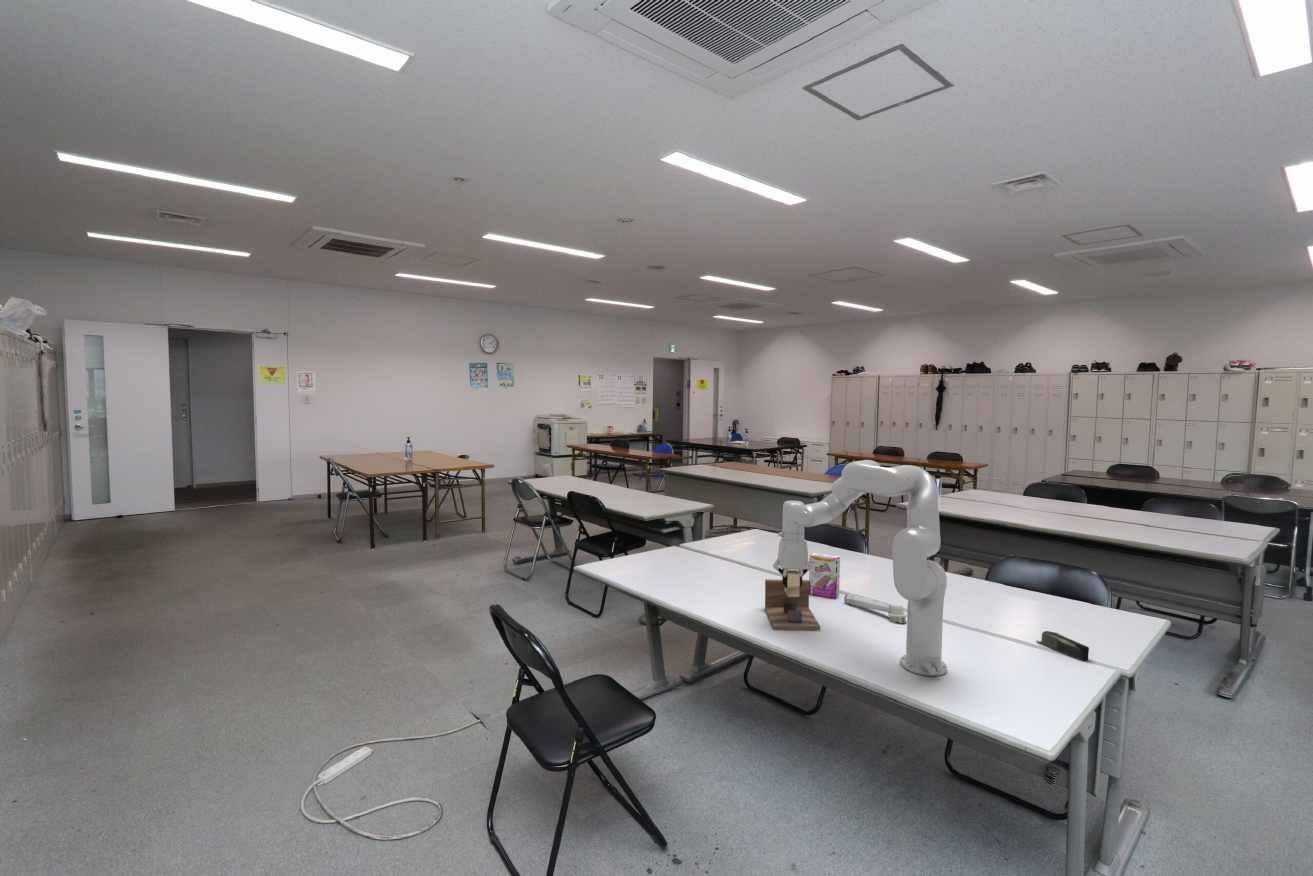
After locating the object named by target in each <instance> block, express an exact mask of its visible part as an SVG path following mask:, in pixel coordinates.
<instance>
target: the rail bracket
mask: <svg viewBox="0 0 1313 876" xmlns="http://www.w3.org/2000/svg"><path fill="white" fill-rule="evenodd" d="M799 588H800V574H799V572H798V569H787V588H785V592H786V594H787V596H788V597H799Z"/></svg>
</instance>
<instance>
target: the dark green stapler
mask: <svg viewBox="0 0 1313 876" xmlns="http://www.w3.org/2000/svg"><path fill="white" fill-rule="evenodd" d="M1037 642H1038V643H1037ZM1036 643H1037V644H1039V645H1042V644H1043V646H1046V647H1047V648H1049V647H1050V649H1052V650H1054V651H1056V652H1058V653H1061V652H1062V653H1061V654H1063V653H1064V655H1065V654H1066V655H1065V656H1068V657H1070V656H1071V657H1070V658H1072V657H1073V659H1075V658H1076V659H1075V660H1077V659H1079V660H1078V661H1080V660H1087V661H1089V655H1090V654H1089V653H1090V647H1089V646H1087V645H1085V644H1082V643H1080V642H1078V641H1076V640H1073V639H1071V638H1068V637H1066V636H1065V635H1061V633H1057V632H1054V631H1048V630H1044V631H1043V632H1042V633H1041V640H1037V639H1036Z"/></svg>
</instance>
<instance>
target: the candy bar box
mask: <svg viewBox="0 0 1313 876" xmlns="http://www.w3.org/2000/svg"><path fill="white" fill-rule="evenodd" d="M809 562H810V564H811V565H812V567H813V568H812V569H811V570H809V571H808V572H809V573H808V575H809V576H808V577H809V579H808V580H809V595H810V594H811V596H815V595H816V596H817V597H821V596H822V597H823V598H828V599H832V598H833V600H836V598H837V599H838V597H839V596H840V578H841V577H840V576H841V575H840V572H841V571H840V570H841V556H839V555H832V554H824V553H817V552H812V553H811V554H809ZM822 597H821V598H822Z"/></svg>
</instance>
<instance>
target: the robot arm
mask: <svg viewBox="0 0 1313 876" xmlns="http://www.w3.org/2000/svg"><path fill="white" fill-rule="evenodd" d="M830 489H831V493H829V494H828V495H827V496H826V497H825V498H823V499H822V500H820V501H819V502H814V503H813V502H812V503H807V504H805V503H804V502H803V501H800V500H786V501H784V503H783V504H782V505H783V506H782V530H781V532H778V533H777V534H778V535H777V536H778V537H780V540H779V544H778V552H777V559H776V560H775V561H774V563H773V565H772V568H773V569H774V570H776V571H777V572H779V574H780V575H782V577H781V578H782V579H781V580H782V584H783V585H784V586H785V588H787V569H797V571H798V572H799V574H800V588H801V585H802V580H803V577H804V576H805V575H806V574H807V573H808V572H810V570H811V569H812V568H813V567H812V565H811V564H810V560H809V548H808V542H807V540H806V539H805V528H810V527H815V526H819V525H822V524H827V523H828V522H831V521H832V520H834V519H835V518H837V517H839V516H840V515H841V514H842V513H844V512H845V511H846V510H847V509H848V507H850V506H851V504H852V503H853V502H855V501H856V500H857V499H859V498H860V497H862V496H863V495H864V494H866V493H867V494H872V495H875V496H876V495H877V496H881V497H888V498H889V497H890V498H893V497H898V496H903V495H908V502H907V506H906V516H907V517H906V518H907V523H906V524H907V526H906V528H903V529H901V530H899V531H898V532H897V533H896V534H895V536H894V538H893V540H892V545H891V547H892V550H891V551H892V555H891V556H892V569H893V571H892V573H893V582H894V587H895V589H896V592H897V593H898V594H899V595H900V596H901V597H902V598H903V599H905V600H907V612H906V615H907V616H906V639H905V640H906V642H905V645H906V646H905V647H906V648H905V650H906V651H905V654H903V655H902V656H901V657H900V658H899V659H900V661H899V664H900V665H901V667H903V668H904V669H905V670H907V671H909V672H911V673H913V674H916V675H920V676H928V677H938V676H943V675H944V674H946V673H947V671H948V665H947V664H946V663H945V662H944V661H943V660H942V654H943V651H942V649H943V623H944V618H943V617H944V604H945V603H944V602H945V595H946V590H947V585H948V584H947V583H948V580H947V579H948V578H947V574H946V570H945V569H944V567H942V565H941V564H939V563H938V562H936V561H935V560H930V559H928V558H930V557H932V556H934V555H936V554H937V553H938V552H939V551H940V550H941V549H940V548H941V544H942V543H941V529H940V528H941V527H940V525H941V523H940V514H939V491H938V487H937V484H936V481H935V479H934V478H933V476H932V475H931V474H930V473H929V472H928V471H926V470H925V469H923V468H921V467H919V466H916V465H911V464H910V465H909V464H903V465H897V466H892V467H891V466H890V467H884V466H881V465H880V464H879V462H877V461H874V460H872V459H863V460H856V461H850V462H849V463H847V464H846V465H845V466H844V467H843V469H842V471H841V476H840V477H839V478H837V479H836V480H835V481H834V482H832V484H831V488H830Z"/></svg>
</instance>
